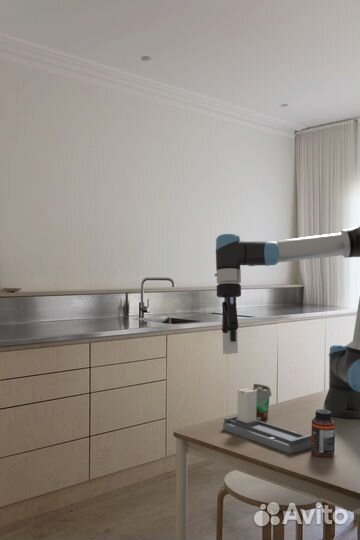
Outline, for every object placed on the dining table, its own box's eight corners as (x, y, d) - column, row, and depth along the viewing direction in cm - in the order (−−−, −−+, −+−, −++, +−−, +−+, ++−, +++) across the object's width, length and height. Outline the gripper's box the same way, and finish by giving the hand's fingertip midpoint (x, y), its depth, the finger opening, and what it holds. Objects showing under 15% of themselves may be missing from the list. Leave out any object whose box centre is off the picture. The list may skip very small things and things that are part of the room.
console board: (246, 423, 165) (246, 413, 165) (314, 446, 144) (314, 434, 144) (222, 429, 159) (223, 418, 159) (290, 453, 138) (290, 441, 138)
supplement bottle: (308, 450, 141) (308, 408, 141) (329, 449, 142) (330, 407, 142) (315, 458, 135) (315, 414, 135) (338, 457, 136) (338, 414, 136)
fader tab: (246, 420, 161) (247, 387, 161) (258, 424, 157) (259, 390, 157) (234, 422, 158) (235, 389, 158) (246, 427, 154) (247, 392, 154)
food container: (270, 425, 164) (271, 392, 164) (250, 423, 165) (251, 391, 165) (271, 414, 176) (272, 384, 176) (253, 413, 177) (253, 383, 177)
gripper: (212, 289, 175) (214, 354, 171) (220, 278, 150) (222, 353, 147) (235, 289, 175) (236, 353, 172) (246, 277, 151) (248, 352, 147)
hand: (230, 353), depth 159 cm, fingers open, 13 cm apart
